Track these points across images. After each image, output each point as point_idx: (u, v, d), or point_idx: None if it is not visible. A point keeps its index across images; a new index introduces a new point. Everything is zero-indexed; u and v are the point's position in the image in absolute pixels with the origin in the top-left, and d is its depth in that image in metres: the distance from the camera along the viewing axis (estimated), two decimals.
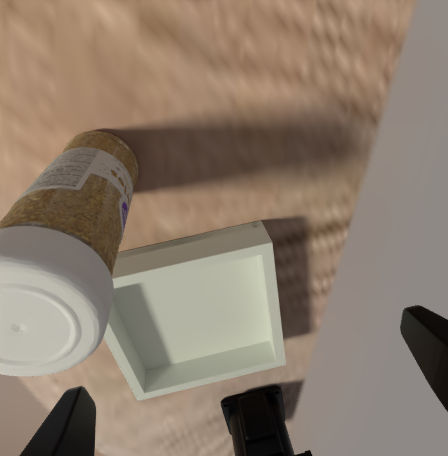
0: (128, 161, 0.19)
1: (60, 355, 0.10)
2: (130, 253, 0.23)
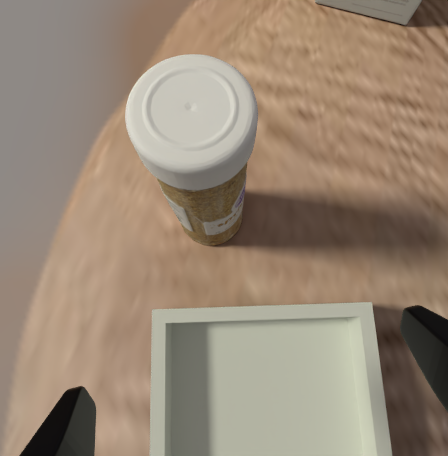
0: None
1: (209, 141, 0.11)
2: None
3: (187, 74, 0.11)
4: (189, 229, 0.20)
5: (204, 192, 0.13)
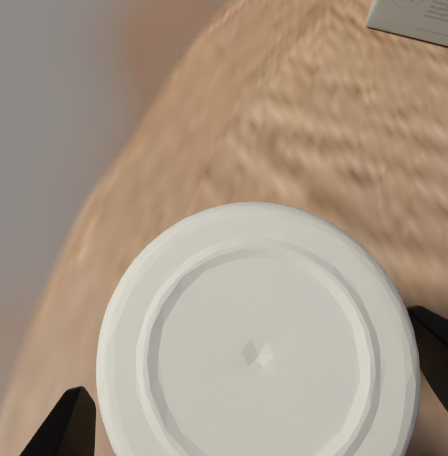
0: None
1: None
2: None
3: (246, 261, 0.05)
4: None
5: None
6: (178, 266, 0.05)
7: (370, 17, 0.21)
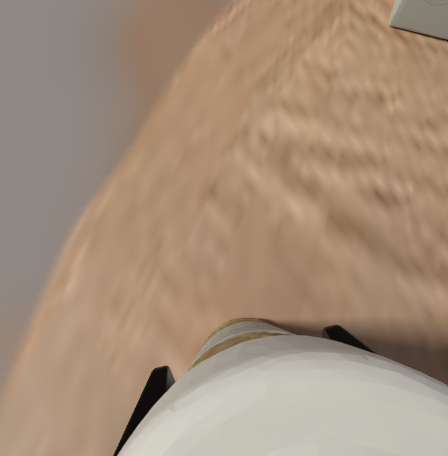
0: None
1: None
2: None
3: None
4: None
5: None
6: None
7: (395, 15, 0.19)
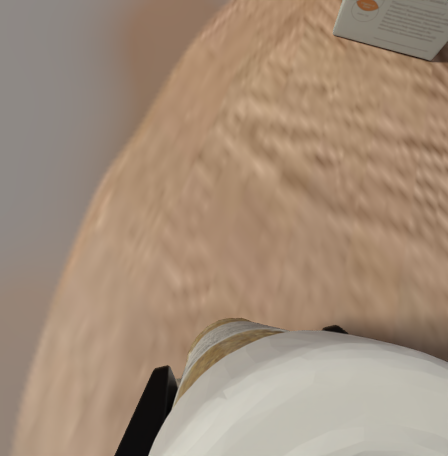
0: None
1: None
2: None
3: None
4: None
5: None
6: None
7: (335, 27, 0.25)
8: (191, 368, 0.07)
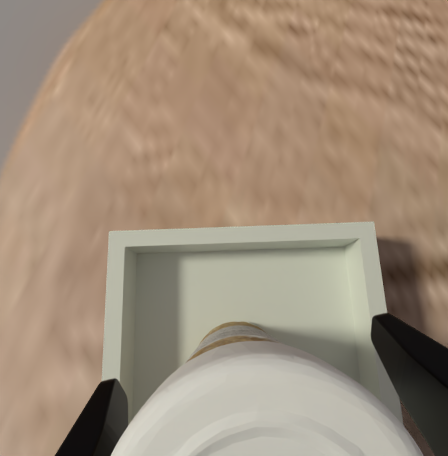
0: None
1: None
2: None
3: (258, 443, 0.04)
4: None
5: None
6: (178, 448, 0.04)
7: None
8: None
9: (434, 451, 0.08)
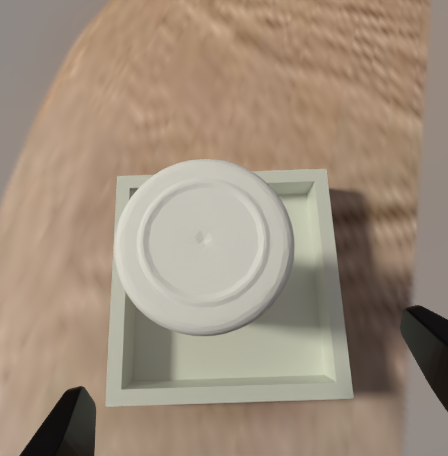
0: None
1: (230, 293, 0.08)
2: None
3: (199, 190, 0.08)
4: None
5: None
6: (160, 192, 0.08)
7: None
8: None
9: None
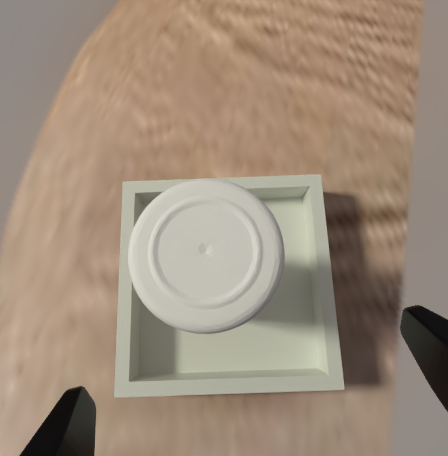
0: None
1: (228, 297, 0.09)
2: None
3: (201, 207, 0.09)
4: None
5: None
6: (167, 209, 0.09)
7: None
8: None
9: None
